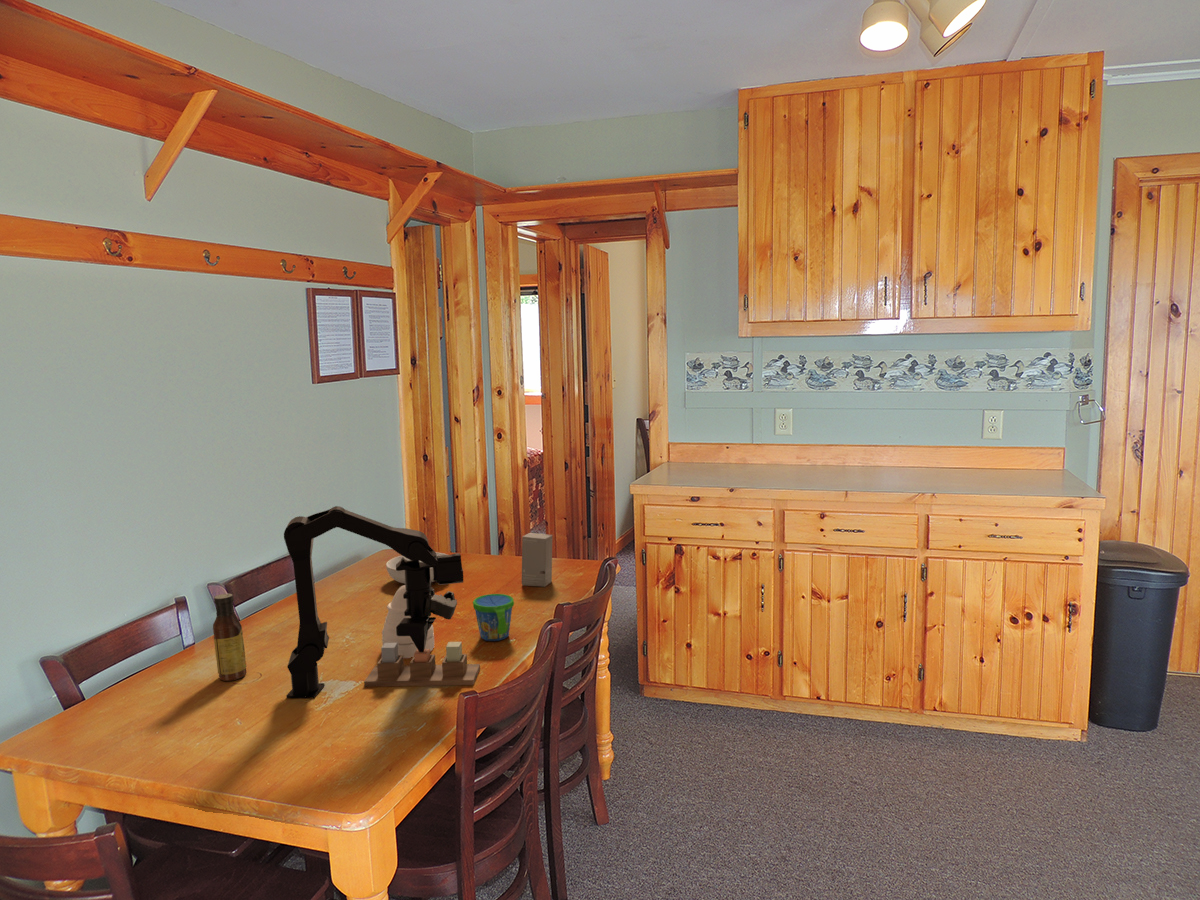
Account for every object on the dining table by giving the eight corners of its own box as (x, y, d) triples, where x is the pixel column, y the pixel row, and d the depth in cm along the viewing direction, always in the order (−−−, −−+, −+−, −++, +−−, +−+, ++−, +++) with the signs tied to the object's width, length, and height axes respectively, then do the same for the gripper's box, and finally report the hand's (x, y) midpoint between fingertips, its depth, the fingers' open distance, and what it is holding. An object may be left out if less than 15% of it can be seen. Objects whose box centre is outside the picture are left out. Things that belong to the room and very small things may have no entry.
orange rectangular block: (428, 673, 188) (426, 653, 187) (415, 673, 188) (414, 654, 187) (430, 668, 190) (429, 648, 190) (418, 668, 191) (417, 649, 190)
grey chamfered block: (395, 667, 187) (394, 647, 187) (382, 667, 188) (381, 647, 187) (398, 662, 190) (397, 642, 190) (386, 662, 190) (384, 642, 190)
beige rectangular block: (460, 666, 187) (459, 646, 186) (447, 666, 187) (446, 646, 186) (462, 661, 190) (461, 641, 189) (449, 661, 190) (448, 641, 189)
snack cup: (520, 645, 208) (519, 606, 206) (479, 650, 205) (477, 611, 203) (509, 624, 223) (507, 588, 221) (470, 629, 220) (468, 593, 218)
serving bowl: (385, 575, 272) (384, 555, 271) (448, 568, 278) (447, 549, 277) (388, 594, 252) (387, 572, 251) (456, 586, 258) (455, 565, 257)
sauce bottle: (252, 674, 193) (245, 594, 190) (229, 684, 188) (221, 601, 185) (235, 669, 197) (228, 590, 194) (211, 678, 191) (204, 597, 188)
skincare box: (521, 585, 257) (519, 537, 255) (529, 579, 264) (528, 531, 261) (546, 587, 254) (544, 538, 252) (554, 580, 261) (552, 533, 259)
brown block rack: (473, 685, 184) (472, 665, 184) (364, 686, 185) (363, 667, 184) (480, 668, 193) (479, 650, 193) (375, 670, 194) (374, 651, 193)
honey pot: (443, 641, 212) (439, 574, 209) (419, 660, 199) (415, 589, 197) (399, 637, 215) (395, 571, 213) (373, 656, 203) (368, 586, 200)
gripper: (444, 599, 177) (448, 667, 179) (460, 574, 195) (463, 636, 197) (393, 600, 177) (397, 668, 179) (414, 574, 195) (418, 636, 198)
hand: (421, 651), depth 188 cm, fingers closed, pressing on orange rectangular block
